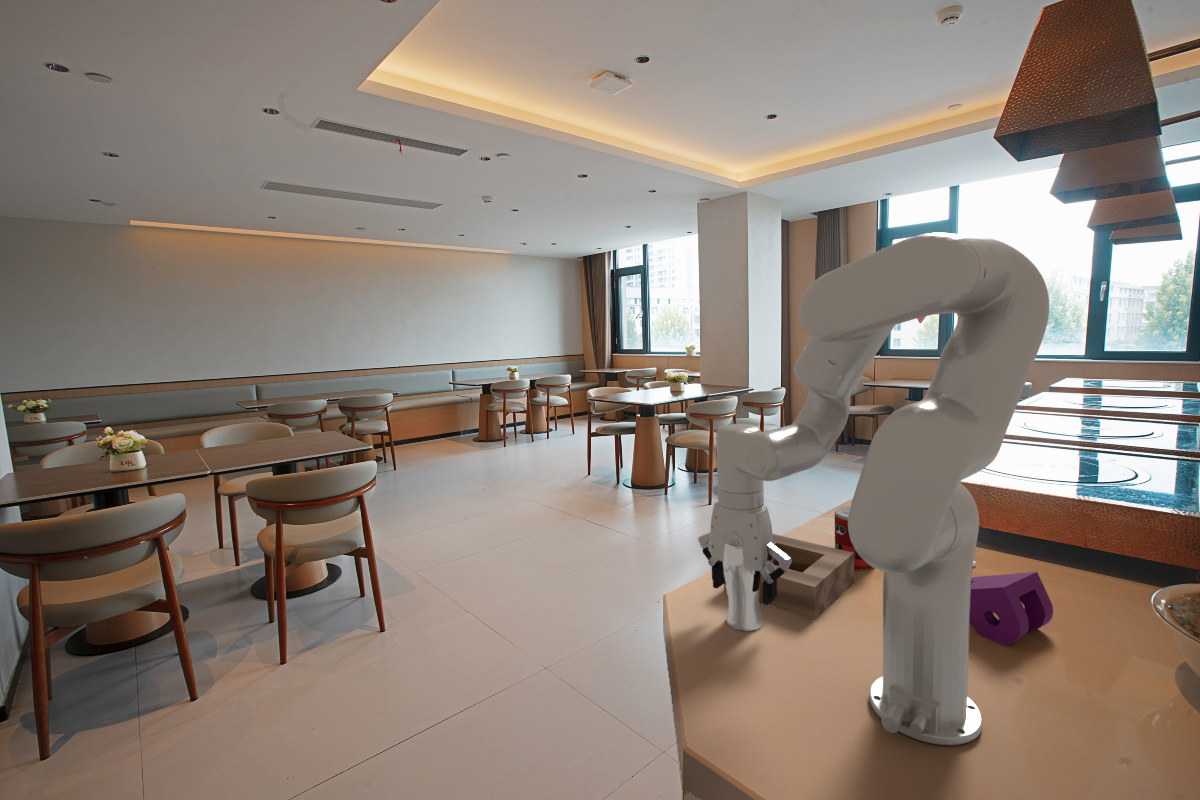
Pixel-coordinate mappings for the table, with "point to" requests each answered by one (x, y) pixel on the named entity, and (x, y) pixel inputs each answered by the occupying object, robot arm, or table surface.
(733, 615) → the silver metal cup
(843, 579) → the walnut well
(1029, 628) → the mounting bracket
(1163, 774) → the table surface
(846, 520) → the canned food
